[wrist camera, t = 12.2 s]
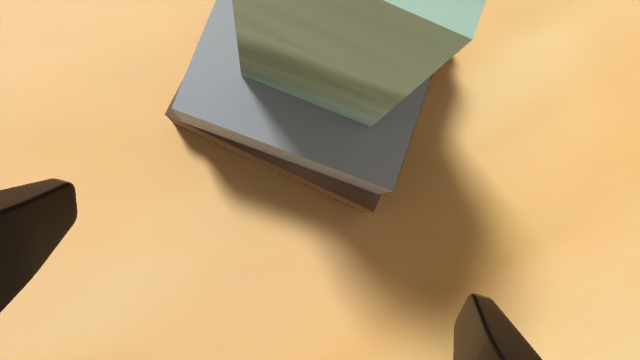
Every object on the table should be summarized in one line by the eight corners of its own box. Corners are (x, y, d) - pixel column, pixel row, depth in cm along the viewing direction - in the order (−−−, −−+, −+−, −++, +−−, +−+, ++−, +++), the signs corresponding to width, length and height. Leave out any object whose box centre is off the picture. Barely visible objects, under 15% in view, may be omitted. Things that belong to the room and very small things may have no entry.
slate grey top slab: (377, 194, 21) (393, 191, 18) (182, 122, 20) (171, 108, 18) (437, 15, 22) (459, -10, 20) (256, -61, 21) (256, -97, 19)
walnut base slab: (361, 212, 23) (373, 211, 21) (175, 125, 22) (164, 114, 20) (436, 41, 25) (455, 21, 22) (264, -48, 24) (264, -78, 21)
